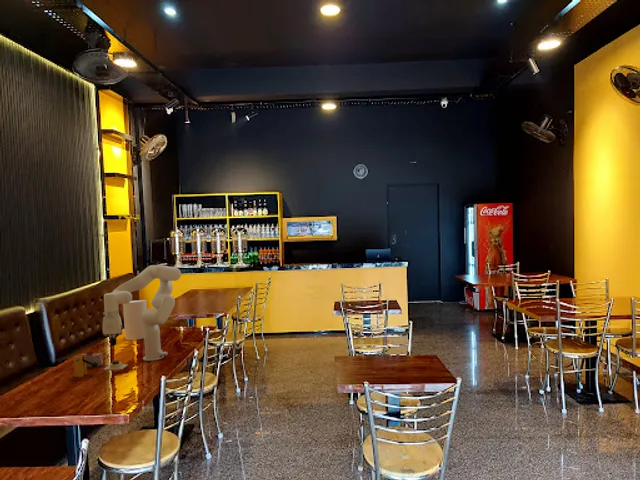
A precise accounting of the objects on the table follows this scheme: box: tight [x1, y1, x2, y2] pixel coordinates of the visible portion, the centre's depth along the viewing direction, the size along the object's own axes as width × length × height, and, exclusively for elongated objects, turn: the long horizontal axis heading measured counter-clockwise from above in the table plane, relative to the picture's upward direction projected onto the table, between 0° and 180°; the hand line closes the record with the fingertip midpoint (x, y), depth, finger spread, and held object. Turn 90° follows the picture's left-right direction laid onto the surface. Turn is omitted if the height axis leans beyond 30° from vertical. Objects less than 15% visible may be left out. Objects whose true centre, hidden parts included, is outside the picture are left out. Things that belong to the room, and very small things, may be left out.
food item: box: [84, 350, 104, 368], centre depth 302 cm, size 14×8×10 cm, turn 93°
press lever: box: [78, 354, 99, 369], centre depth 281 cm, size 12×3×3 cm, turn 92°
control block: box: [103, 361, 129, 372], centre depth 294 cm, size 11×9×4 cm
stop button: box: [111, 359, 120, 365], centre depth 294 cm, size 4×4×2 cm
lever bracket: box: [73, 353, 88, 378], centre depth 281 cm, size 10×8×13 cm
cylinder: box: [122, 299, 148, 341], centre depth 381 cm, size 17×17×28 cm
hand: (113, 345), depth 293 cm, fingers closed
